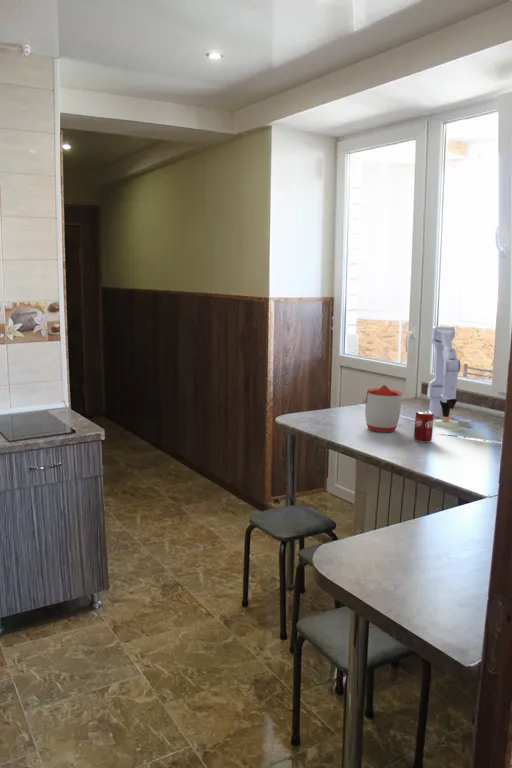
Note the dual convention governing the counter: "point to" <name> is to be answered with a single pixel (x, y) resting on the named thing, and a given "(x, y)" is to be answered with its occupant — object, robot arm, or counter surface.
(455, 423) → the cream square slab
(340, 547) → the counter surface
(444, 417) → the salmon pink block
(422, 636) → the counter surface
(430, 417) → the soda can
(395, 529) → the counter surface
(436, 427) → the baseplate
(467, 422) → the grey brick
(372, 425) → the citrus juicer
